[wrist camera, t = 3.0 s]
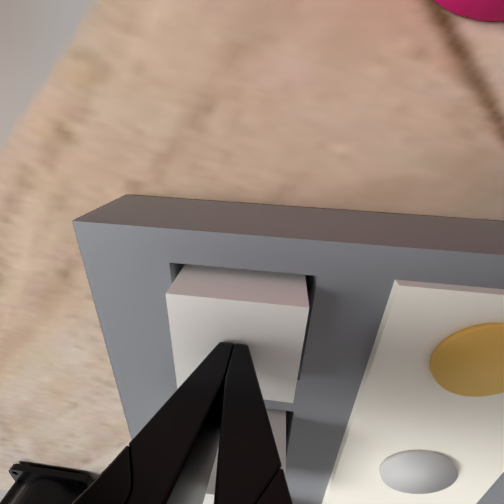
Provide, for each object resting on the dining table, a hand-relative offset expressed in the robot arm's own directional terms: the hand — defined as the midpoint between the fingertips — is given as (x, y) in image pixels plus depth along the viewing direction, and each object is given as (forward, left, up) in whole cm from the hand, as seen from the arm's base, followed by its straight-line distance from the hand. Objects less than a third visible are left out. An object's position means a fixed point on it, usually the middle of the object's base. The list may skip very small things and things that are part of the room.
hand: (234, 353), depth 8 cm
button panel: (+3, -6, -4) cm, 8 cm away
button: (0, 0, -3) cm, 3 cm away
